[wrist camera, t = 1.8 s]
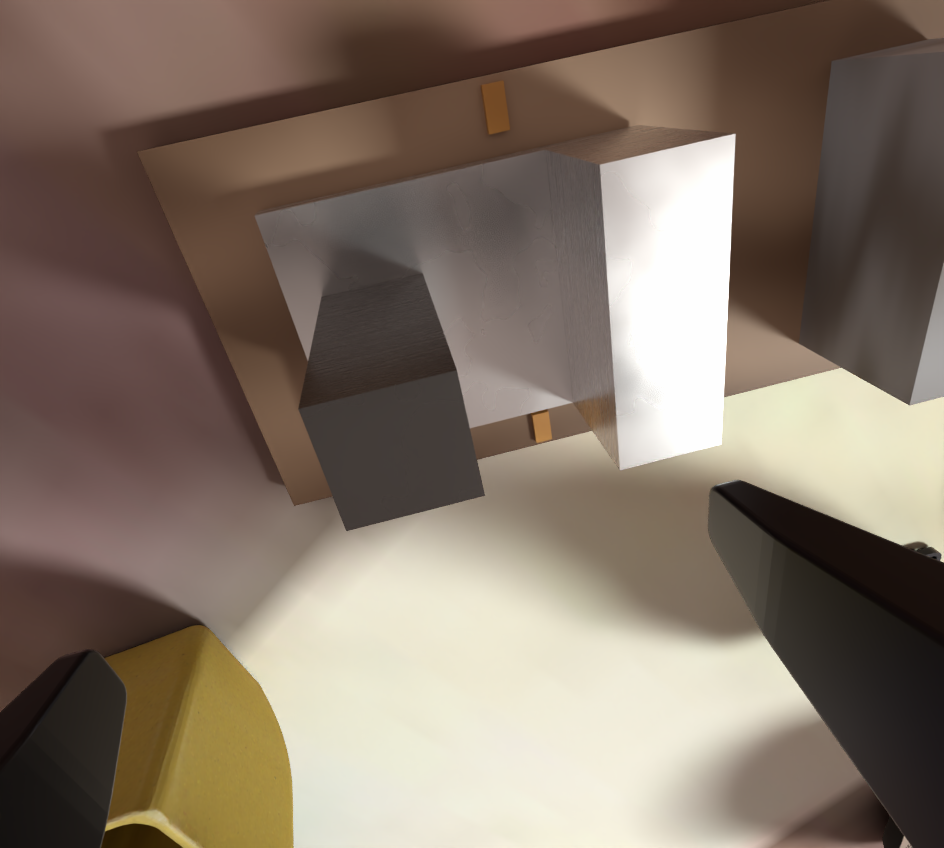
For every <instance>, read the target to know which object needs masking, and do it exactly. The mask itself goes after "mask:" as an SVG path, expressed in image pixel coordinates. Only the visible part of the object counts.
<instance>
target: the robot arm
mask: <svg viewBox="0 0 944 848" xmlns="http://www.w3.org/2000/svg"><path fill="white" fill-rule="evenodd" d="M708 531H709V536H710V539H711V541H712V544H713V546H714V547H715V549H716V551H717V553H718V555H719V556H720V558H721V560H722V562H723V564H724V565H725V567H726V569H727V571H728V573H729V574H730V576H731V578H732V580H733V582H734V583H735V585H736V587H737V589H738V591H739V593H740V594H741V596H742V598H743V600H744V602H745V603H746V605H747V607H748V609H749V611H750V612H751V614H752V616H753V618H754V620H755V621H756V623H757V625H758V626H759V628H760V630H761V631H762V633H763V635H764V636H765V638H766V639H767V641H768V642H769V644H770V645H771V647H772V648H773V650H774V651H775V652H776V654H777V655H778V657H779V658H780V660H781V661H782V662H783V664H784V665H785V667H786V668H787V670H788V671H789V672H790V674H791V675H792V677H793V678H794V680H795V681H796V682H797V684H798V685H799V687H800V688H801V690H802V691H803V692H804V694H805V695H806V697H807V698H808V699H809V701H810V702H811V704H812V705H813V707H814V708H815V709H816V711H817V712H818V714H819V715H820V717H821V718H822V719H823V721H824V722H825V724H826V725H827V727H828V728H829V729H830V731H831V732H832V734H833V735H834V737H835V738H836V739H837V741H838V742H839V744H840V745H841V747H842V748H843V749H844V751H845V752H846V754H847V755H848V756H849V758H850V759H851V761H852V762H853V764H854V765H855V766H856V768H857V769H858V771H859V772H860V774H861V775H862V776H863V778H864V779H865V781H866V782H867V784H868V785H869V786H870V788H871V789H872V791H873V792H874V794H875V795H876V796H877V798H878V799H879V801H880V802H881V803H882V805H883V806H884V808H885V809H886V811H887V812H888V813H889V815H890V816H891V818H892V819H893V821H894V822H895V823H896V825H897V826H898V828H899V829H900V831H901V832H902V833H903V835H904V836H905V838H906V839H907V841H908V842H909V843H910V845H911V846H912V848H944V563H943V562H941V561H940V559H941V554H940V553H939V552H938V551H937V550H935V549H934V548H932V547H928V548H924V549H921V550H917V551H914V550H911V549H909V548H906V547H904V546H902V545H899V544H897V543H894V542H892V541H889V540H887V539H884V538H882V537H879V536H877V535H875V534H872V533H870V532H867V531H865V530H862V529H860V528H857V527H855V526H852V525H850V524H847V523H845V522H843V521H840V520H838V519H835V518H833V517H830V516H828V515H825V514H823V513H820V512H818V511H816V510H813V509H811V508H808V507H806V506H803V505H801V504H798V503H796V502H793V501H791V500H789V499H786V498H784V497H781V496H779V495H776V494H774V493H771V492H769V491H766V490H764V489H762V488H759V487H757V486H754V485H752V484H749V483H747V482H744V481H741V480H734V481H730V482H726V483H722V484H718V485H715V486H714V487H712V488H711V490H710V494H709V516H708ZM126 704H127V691H126V687H125V685H124V683H123V681H122V680H121V678H120V677H119V676H118V675H117V674H116V672H115V671H114V670H113V669H112V667H111V666H110V665H109V664H108V662H107V661H106V660H105V659H104V657H103V656H102V655H101V654H100V653H99V652H98V651H96V650H93V649H86V650H82V651H79V652H75V653H71V654H67V655H64V656H62V657H60V658H58V659H57V660H56V661H55V662H54V663H52V664H51V665H50V666H49V667H48V668H47V669H46V670H45V671H44V672H43V673H42V674H41V675H40V676H39V677H37V678H36V679H35V680H34V681H33V682H32V683H31V684H30V685H29V686H28V687H27V688H26V689H25V690H24V691H22V692H21V693H20V694H19V695H18V696H17V697H16V698H15V699H14V700H13V701H12V702H11V703H10V704H9V705H7V706H6V707H5V708H4V709H3V710H2V711H1V712H0V848H101V845H102V841H103V837H104V833H105V829H106V825H107V820H108V816H109V811H110V805H111V800H112V795H113V788H114V782H115V775H116V769H117V762H118V756H119V749H120V743H121V736H122V730H123V723H124V717H125V710H126Z"/></svg>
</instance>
